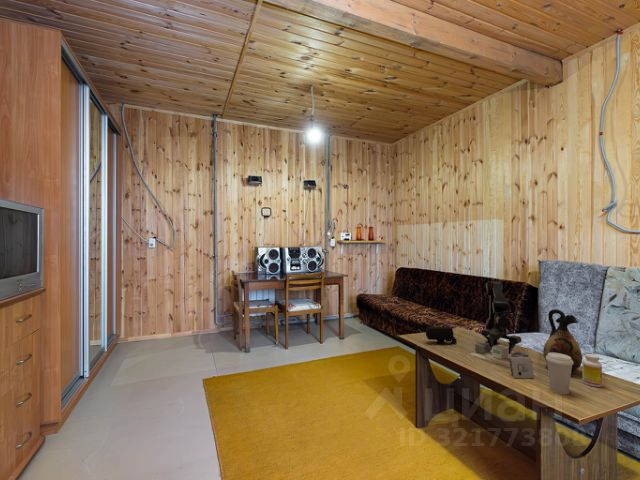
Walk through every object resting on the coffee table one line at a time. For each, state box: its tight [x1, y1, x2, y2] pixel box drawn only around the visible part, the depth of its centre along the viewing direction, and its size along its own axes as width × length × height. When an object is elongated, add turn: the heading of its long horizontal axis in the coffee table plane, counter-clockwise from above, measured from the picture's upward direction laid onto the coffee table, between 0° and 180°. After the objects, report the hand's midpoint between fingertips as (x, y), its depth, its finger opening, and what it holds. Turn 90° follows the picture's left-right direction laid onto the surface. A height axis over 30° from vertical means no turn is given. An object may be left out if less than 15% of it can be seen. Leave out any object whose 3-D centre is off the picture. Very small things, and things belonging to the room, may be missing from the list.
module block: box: [492, 344, 509, 359], centre depth 169 cm, size 8×5×5 cm, turn 122°
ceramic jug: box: [542, 308, 583, 375], centre depth 155 cm, size 17×15×30 cm
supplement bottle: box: [581, 353, 603, 388], centre depth 140 cm, size 7×7×13 cm
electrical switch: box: [509, 356, 535, 379], centre depth 148 cm, size 9×5×9 cm, turn 90°
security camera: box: [425, 326, 458, 345], centre depth 194 cm, size 7×18×10 cm, turn 89°
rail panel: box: [469, 341, 533, 369], centre depth 169 cm, size 18×24×6 cm
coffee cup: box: [545, 353, 574, 395], centre depth 133 cm, size 10×10×15 cm
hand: (500, 351), depth 169 cm, fingers open, 9 cm apart
